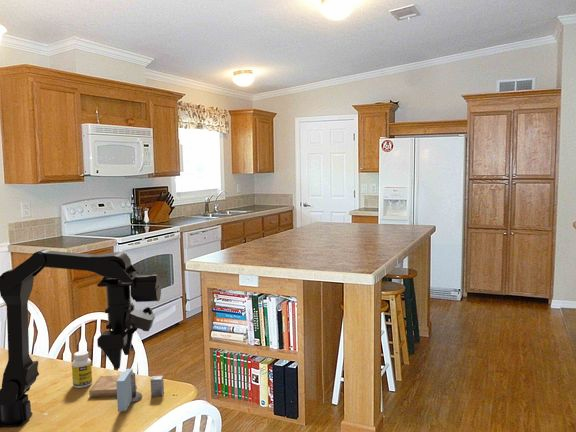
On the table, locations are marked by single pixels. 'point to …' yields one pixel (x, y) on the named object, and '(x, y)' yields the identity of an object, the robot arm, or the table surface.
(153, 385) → the bracket
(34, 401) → the table surface
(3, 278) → the robot arm
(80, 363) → the supplement bottle
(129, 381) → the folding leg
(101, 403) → the table surface
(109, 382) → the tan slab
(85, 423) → the table surface
